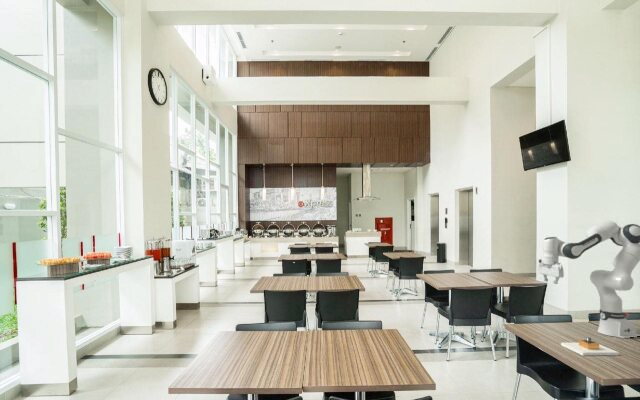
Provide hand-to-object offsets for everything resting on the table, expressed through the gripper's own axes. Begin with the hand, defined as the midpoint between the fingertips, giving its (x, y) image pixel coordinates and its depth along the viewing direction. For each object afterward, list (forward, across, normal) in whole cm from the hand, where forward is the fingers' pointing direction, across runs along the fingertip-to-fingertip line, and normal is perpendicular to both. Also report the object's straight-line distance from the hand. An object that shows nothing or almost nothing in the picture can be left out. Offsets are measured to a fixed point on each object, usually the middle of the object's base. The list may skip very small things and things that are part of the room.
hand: (550, 282), depth 254 cm
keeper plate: (+29, -44, +10) cm, 54 cm away
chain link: (+28, -44, +10) cm, 53 cm away
